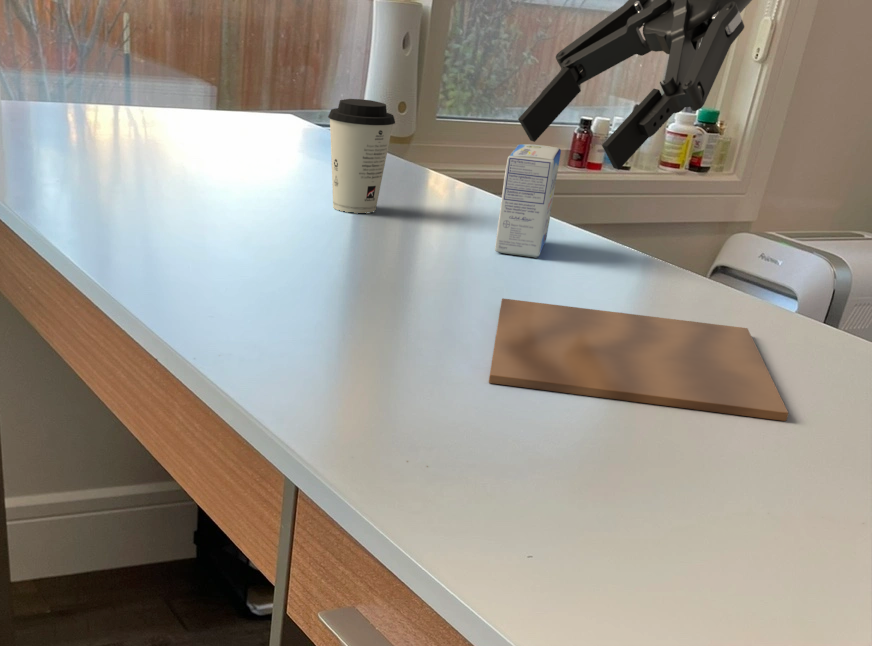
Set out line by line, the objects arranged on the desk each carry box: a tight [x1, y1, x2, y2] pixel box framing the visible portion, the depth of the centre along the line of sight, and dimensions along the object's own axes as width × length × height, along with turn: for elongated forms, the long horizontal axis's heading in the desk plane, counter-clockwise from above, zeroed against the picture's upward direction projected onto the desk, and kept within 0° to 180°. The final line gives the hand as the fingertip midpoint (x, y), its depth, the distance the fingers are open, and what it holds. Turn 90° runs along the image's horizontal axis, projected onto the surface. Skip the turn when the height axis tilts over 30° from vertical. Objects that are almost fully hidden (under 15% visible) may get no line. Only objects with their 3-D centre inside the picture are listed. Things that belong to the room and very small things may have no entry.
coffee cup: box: [327, 98, 396, 214], centre depth 116 cm, size 7×7×10 cm
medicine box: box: [494, 143, 562, 259], centre depth 108 cm, size 8×4×9 cm, turn 166°
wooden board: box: [488, 298, 789, 422], centre depth 83 cm, size 20×20×1 cm
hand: (566, 143), depth 106 cm, fingers open, 13 cm apart
